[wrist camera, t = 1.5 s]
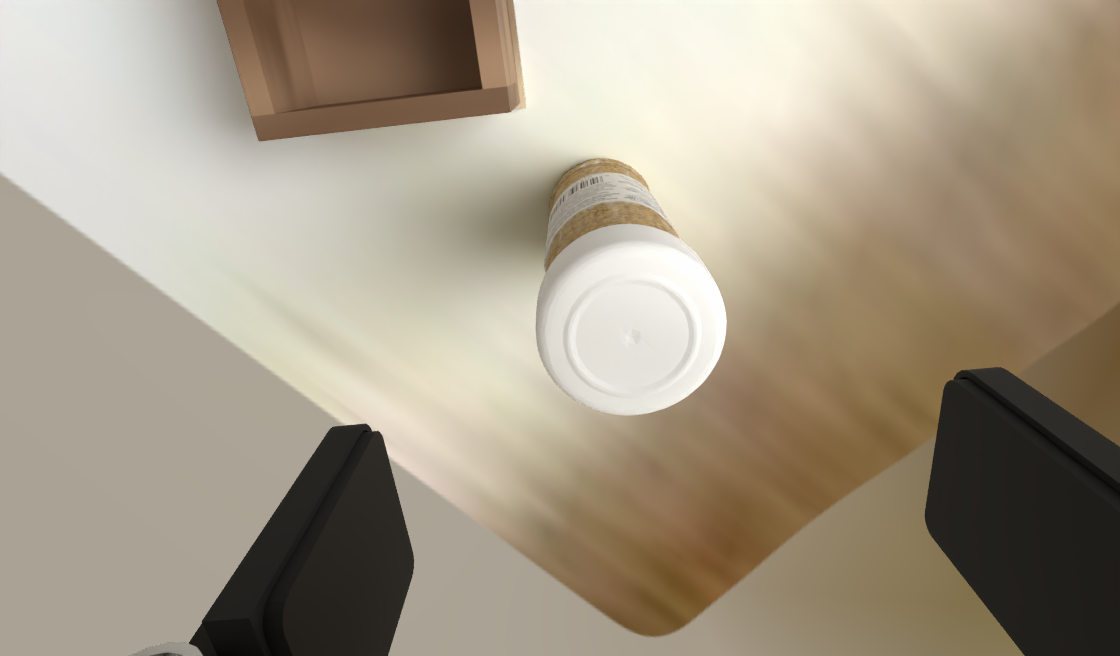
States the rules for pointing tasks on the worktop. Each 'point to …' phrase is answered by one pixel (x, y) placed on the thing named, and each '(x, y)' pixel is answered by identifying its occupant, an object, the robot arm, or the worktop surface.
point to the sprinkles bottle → (623, 296)
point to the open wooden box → (372, 62)
